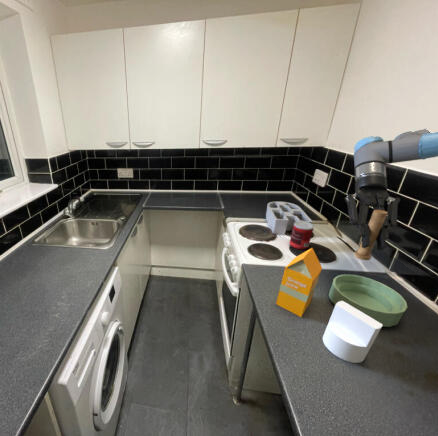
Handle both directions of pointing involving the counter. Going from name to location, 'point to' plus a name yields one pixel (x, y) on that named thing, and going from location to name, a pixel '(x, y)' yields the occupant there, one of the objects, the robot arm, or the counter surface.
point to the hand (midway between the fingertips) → (373, 247)
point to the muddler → (372, 234)
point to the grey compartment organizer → (284, 216)
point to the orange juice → (299, 282)
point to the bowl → (369, 298)
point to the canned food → (301, 235)
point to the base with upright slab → (350, 333)
